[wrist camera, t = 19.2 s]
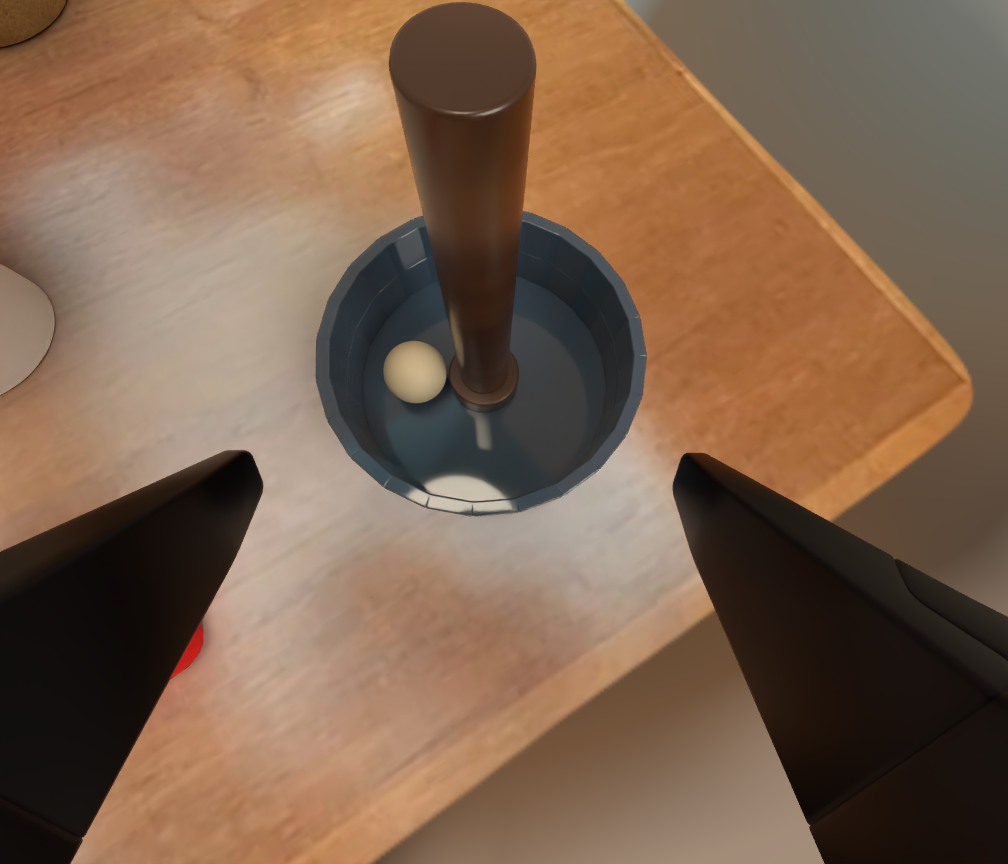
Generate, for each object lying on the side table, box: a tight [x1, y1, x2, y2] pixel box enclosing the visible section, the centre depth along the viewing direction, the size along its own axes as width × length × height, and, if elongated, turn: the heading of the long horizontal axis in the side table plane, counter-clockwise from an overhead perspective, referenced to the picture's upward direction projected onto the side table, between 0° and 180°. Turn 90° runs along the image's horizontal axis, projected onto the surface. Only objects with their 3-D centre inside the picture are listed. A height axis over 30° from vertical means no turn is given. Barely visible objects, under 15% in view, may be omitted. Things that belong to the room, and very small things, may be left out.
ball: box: [383, 341, 447, 403], centre depth 17 cm, size 3×3×3 cm
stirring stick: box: [389, 2, 536, 412], centre depth 12 cm, size 3×3×13 cm
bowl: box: [316, 211, 647, 516], centre depth 17 cm, size 12×12×4 cm
